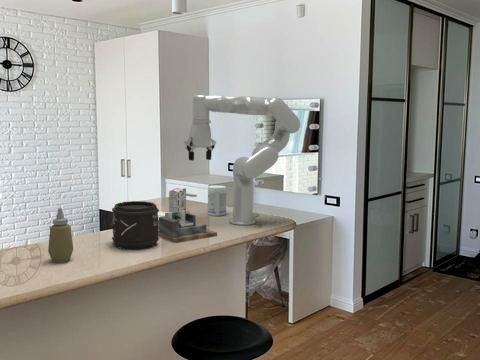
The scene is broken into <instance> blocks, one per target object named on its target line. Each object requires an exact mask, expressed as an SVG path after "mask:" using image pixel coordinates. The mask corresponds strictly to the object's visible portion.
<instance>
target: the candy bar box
mask: <svg viewBox="0 0 480 360" xmlns="http://www.w3.org/2000/svg"><path fill="white" fill-rule="evenodd" d="M186 210H187V188H185V187H175V188H173V189H171V190H169V191H168V213H169V212H178V211H186Z"/></svg>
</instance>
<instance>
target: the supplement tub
mask: <svg viewBox="0 0 480 360" xmlns="http://www.w3.org/2000/svg"><path fill="white" fill-rule="evenodd" d="M207 214H208V215H209V216H213V217H222V216H225V215H226V214H227V186H225V185H219V184H218V185H217V184H216V185H214V184H213V185H209V186H208V187H207Z"/></svg>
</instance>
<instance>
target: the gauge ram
mask: <svg viewBox="0 0 480 360" xmlns="http://www.w3.org/2000/svg"><path fill="white" fill-rule="evenodd" d="M196 217H197V216H196V215H195V214H193V213H190V212H189V213H185V220H182V221H181V217H179V216H175V220H176V218H179V228H185V227H192V226H196V224H197V222H196V220H197V218H196Z"/></svg>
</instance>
